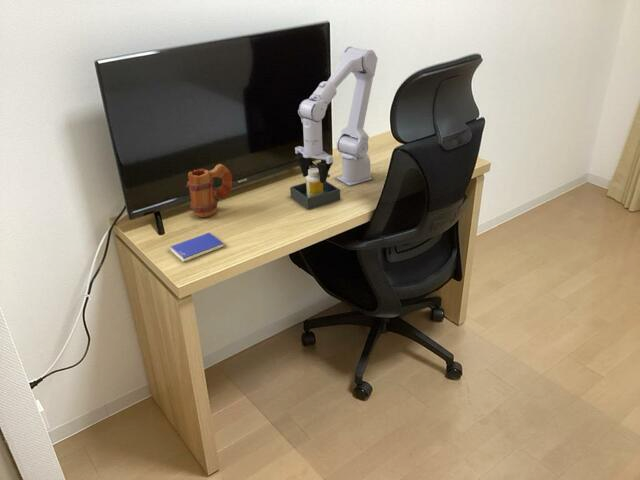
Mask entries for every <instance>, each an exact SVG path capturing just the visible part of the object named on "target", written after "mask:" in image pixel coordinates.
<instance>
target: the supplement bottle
mask: <svg viewBox="0 0 640 480" xmlns="http://www.w3.org/2000/svg"><path fill="white" fill-rule="evenodd" d="M305 183H306V186H307V198H311V197H314V196H317V195H320V194H323V183H320V176H319V170H318V167H311V168H310V167H309V170H308V176H306V177H305Z"/></svg>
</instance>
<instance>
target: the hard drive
mask: <svg viewBox="0 0 640 480" xmlns="http://www.w3.org/2000/svg"><path fill="white" fill-rule="evenodd" d="M223 247H224V243H223V242H222V241H221V240H220V239H219V238H217V237H216V236H214V235H213V234H212V232H207V233H204V234H201V235H198V236H195V237H193V238H190V239H187V240H185V241H182V242H179V243H176V244H173V245H171V246H169V249H170V252H171V253H172V254H174V255H175V256H176V257H177V258H178V259H180V260H181V261H182V262H186V261H189V260H193V259H195V258H197V257H201V256H203V255H205V254H207V253H211V252H212V251H215V250H218V249H220V248H223Z"/></svg>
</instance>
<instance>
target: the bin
mask: <svg viewBox="0 0 640 480" xmlns="http://www.w3.org/2000/svg"><path fill="white" fill-rule="evenodd" d="M289 191H290V192H289V193H290V198H291V199H292V200H294V201H295V202H297V203H298V204H299V205H301V206H302V207H304V208H305V209H307V210H312V209H315V208H318V207H322V206H325V205H328V204H331V203H334V202H337V201H340V200H341V189H340V188H338V187H336V186H335V185H333V184H332V183H330V182H328V181H327V180H326V182H324V183H323V194H320V195H317V196H314V197H311V198H307V186H306V182H303V183H299V184H296V185H293V186H290V187H289Z"/></svg>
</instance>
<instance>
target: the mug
mask: <svg viewBox="0 0 640 480" xmlns="http://www.w3.org/2000/svg"><path fill="white" fill-rule="evenodd" d="M192 171H193V170H192ZM192 171H189V172H188V174H187V179H188V180H189V181H188V180H187V183H186V185H185V188H186V189H188V190H189V195H190V201H191V202H190V206H189V207H188V209H189V210H190V211H192V213H193V215H195V216H197V217H200V218H201V217H202V218H206V217H210V216H212V215H214V214H215V213H216V212H217V211H218V202H219V199H218V198H221V199H224V200H225V199H226V198H227V197H228V195H229V194H230V191H231V189H232V186H233V176H232V172H231V171H230V170H229V169H228V167H226V165H224V164H222V163H218V164H216V165H215V167H214V168H213V169H210V170H208V169H205V168H199V169H197V170H195V169H194V171H193V172H192ZM215 178H219V179H222V180H221V181H222V182H221V185H220V187H219V188H214V182H215ZM217 197H218V198H217Z"/></svg>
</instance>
